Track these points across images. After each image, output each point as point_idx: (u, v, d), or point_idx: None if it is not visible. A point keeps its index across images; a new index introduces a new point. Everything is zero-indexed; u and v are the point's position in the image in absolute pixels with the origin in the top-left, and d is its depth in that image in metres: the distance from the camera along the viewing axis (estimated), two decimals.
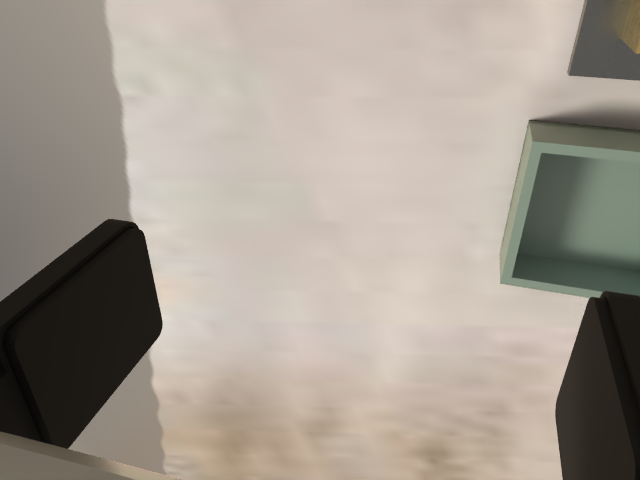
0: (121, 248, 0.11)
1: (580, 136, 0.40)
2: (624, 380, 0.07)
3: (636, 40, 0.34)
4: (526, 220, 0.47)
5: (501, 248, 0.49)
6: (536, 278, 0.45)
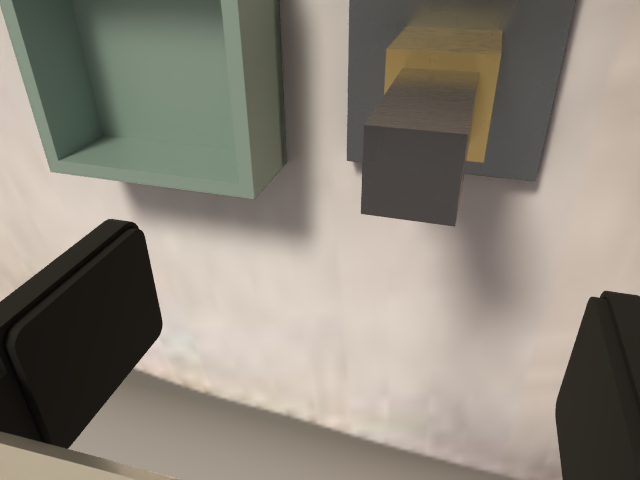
0: (121, 248, 0.11)
1: None
2: (624, 380, 0.07)
3: (405, 46, 0.22)
4: None
5: None
6: None
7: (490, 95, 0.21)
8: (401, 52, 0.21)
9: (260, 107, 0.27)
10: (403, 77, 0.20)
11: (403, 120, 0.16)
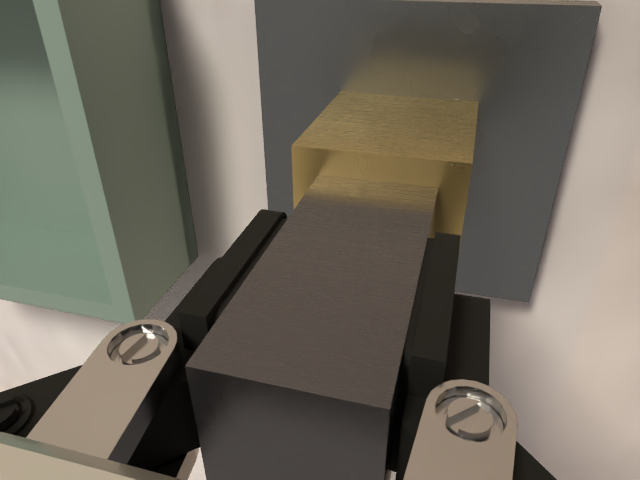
0: None
1: (118, 54, 0.17)
2: (419, 293, 0.09)
3: (324, 138, 0.14)
4: None
5: None
6: None
7: (457, 221, 0.13)
8: (315, 151, 0.13)
9: (139, 201, 0.19)
10: (312, 200, 0.12)
11: (272, 345, 0.08)
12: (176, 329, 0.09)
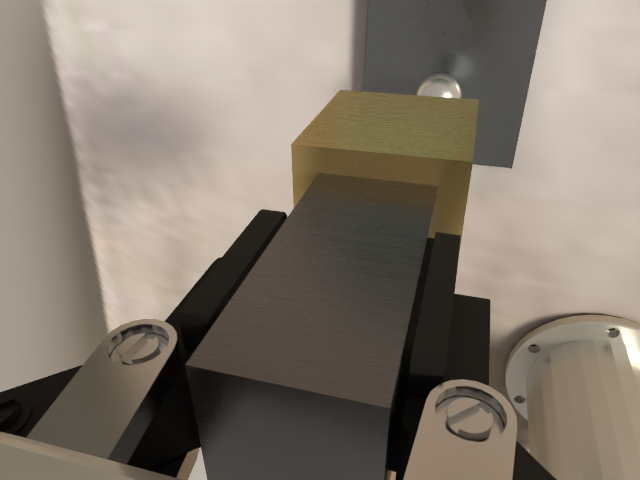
0: None
1: None
2: (419, 293, 0.09)
3: (324, 136, 0.14)
4: None
5: None
6: None
7: (457, 220, 0.13)
8: (315, 150, 0.13)
9: None
10: (312, 199, 0.12)
11: (272, 343, 0.08)
12: (176, 329, 0.09)
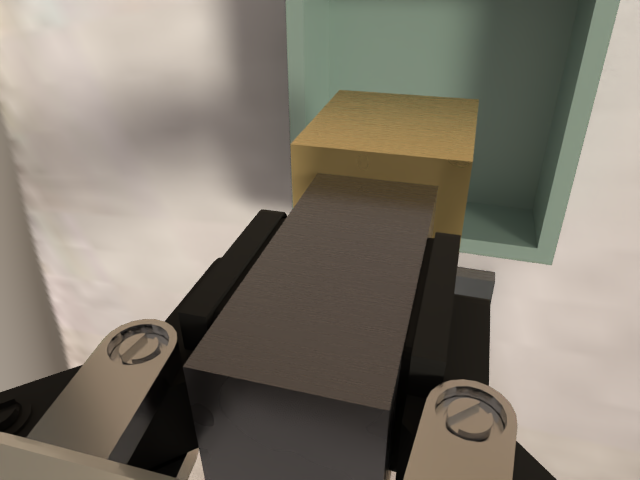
0: None
1: None
2: (419, 293, 0.09)
3: (323, 136, 0.14)
4: (550, 55, 0.25)
5: None
6: None
7: (457, 220, 0.13)
8: (314, 150, 0.13)
9: None
10: (311, 199, 0.12)
11: (271, 345, 0.08)
12: (176, 329, 0.09)
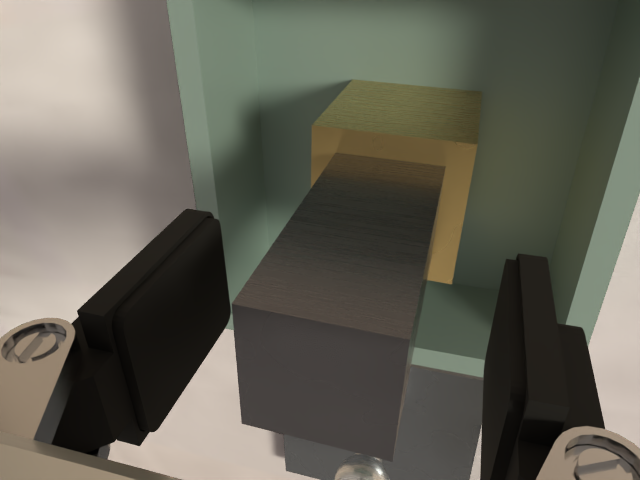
0: (203, 236, 0.11)
1: None
2: (517, 324, 0.08)
3: (341, 119, 0.15)
4: (570, 93, 0.17)
5: None
6: None
7: (461, 198, 0.14)
8: (333, 131, 0.14)
9: None
10: (331, 174, 0.13)
11: (305, 289, 0.09)
12: None
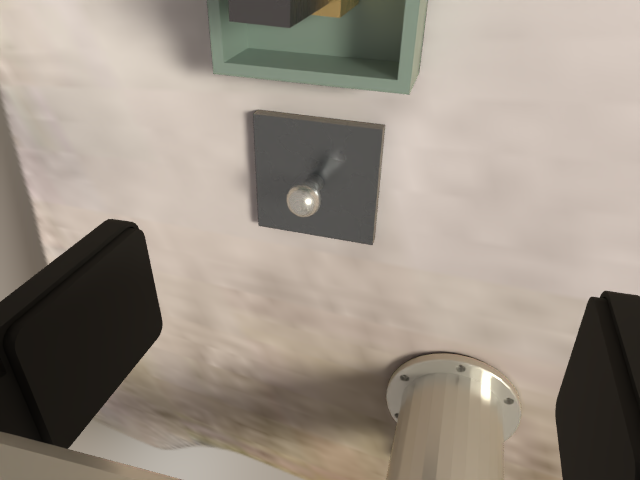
0: (121, 248, 0.11)
1: None
2: (624, 380, 0.07)
3: None
4: None
5: None
6: None
7: None
8: None
9: None
10: None
11: None
12: None
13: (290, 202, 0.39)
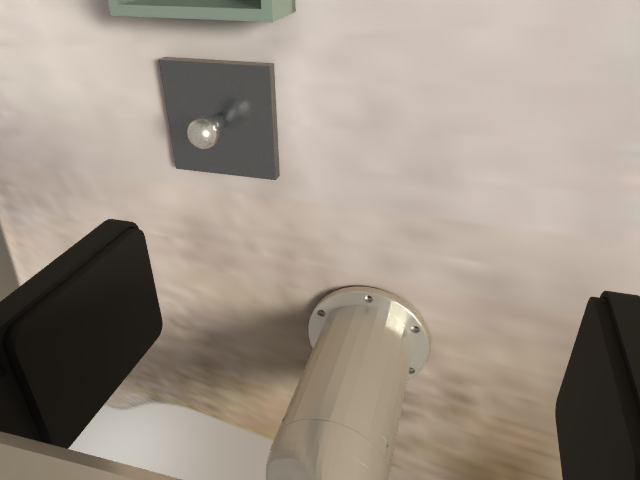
0: (121, 248, 0.11)
1: None
2: (624, 380, 0.07)
3: None
4: None
5: None
6: None
7: None
8: None
9: None
10: None
11: None
12: None
13: (189, 134, 0.43)
